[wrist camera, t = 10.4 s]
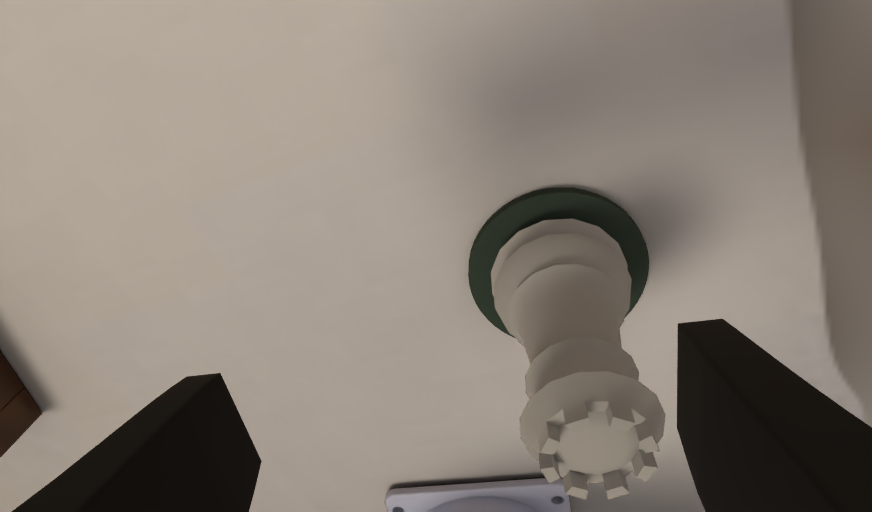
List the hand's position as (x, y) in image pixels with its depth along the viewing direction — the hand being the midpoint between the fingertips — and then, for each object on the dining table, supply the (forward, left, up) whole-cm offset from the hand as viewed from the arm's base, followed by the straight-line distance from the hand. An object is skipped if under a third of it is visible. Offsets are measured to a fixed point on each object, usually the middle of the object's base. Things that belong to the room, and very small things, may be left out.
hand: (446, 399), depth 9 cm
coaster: (-4, -2, -10) cm, 11 cm away
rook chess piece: (-4, -2, -10) cm, 11 cm away
